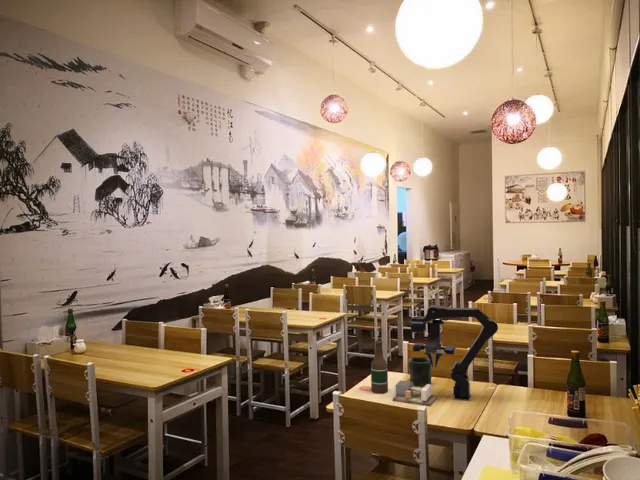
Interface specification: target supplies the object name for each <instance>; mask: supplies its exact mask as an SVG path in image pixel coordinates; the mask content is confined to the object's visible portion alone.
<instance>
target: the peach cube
mask: <svg viewBox="0 0 640 480" xmlns="http://www.w3.org/2000/svg"><path fill="white" fill-rule="evenodd" d="M406 398H407V399H410V398H411V391H409V390H407V391H406Z"/></svg>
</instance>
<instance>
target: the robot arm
mask: <svg viewBox="0 0 640 480" xmlns="http://www.w3.org/2000/svg"><path fill="white" fill-rule="evenodd" d="M444 318H475V319H476V320H477V321H478V323H480V325H481V326H482V327H481V329H480V332H479V333H478V336H477V337H476V338H475V339H474V341H473V342H472V344H471V346H470V347H469V348H468V350H467V352H466V353H465V354H464V356H463V357H462V358H461V360H459V361H458V360H455V361H454V363H453V365H452V366H451V367H450V377H451V380H452V381H453V382H454V386H453V399H456V400H465V401H469V400H470V399H471V397H472V394H471V383H470V377H469V375H467V372H468V369H469V367H470V365H471V364H472V362H473V361H474V359H475V358H476V357H477V355H478V354H479V352H481V349H482V348H483V346H484V345H485V344H486V342H487V341H489V340H490V339H491V338H492V337H493V336H494V335H495V334H496V333H497V332H498V330H499V326H498V322H496V320H495V319H493V318H491V317H490V318H489V317H488V315H487V314H485V313H484V312H483V311H481V309H480V308H479V307H446V306H442V305H436V304H432V305H430V306H429V307H428V308H427V310H426V314H425V315H424V317H411V321H410V323H411V324H410V333H413V334H414V333H418V334H419V333H420V334H422V333H423V334H424V333H425V331H427V336H426V341H425V343H424V342H416V343H414V344H413V345H412V351H413V352H421V350H423V353H424V354H425V355H426V357H427V358H429V360H430V362H431V368H434V367H435V368H437V367H438V365H439V362H440V359H441V357H442V356H443V355H444V354H445V355H455V354H457V347H456V346H455V345H446V346H442V343H441V336H442V335H441V325H444V324H445V321H444V320H443V319H444ZM434 354H435V357H434ZM434 358H435V359H434ZM434 360H435V362H434Z"/></svg>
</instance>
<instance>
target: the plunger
mask: <svg viewBox="0 0 640 480" xmlns="http://www.w3.org/2000/svg"><path fill="white" fill-rule="evenodd" d="M432 385H433V384H432V383H431V384H427V385H426V386H424V387H416V386H415V387H414V386H413V387H410V391H413V392H416V393H421V400H422V401H426V400H427V399H428V398H429V397H430V396H431V395H433V394H432V393H433V391H432V390H433V388H432V387H433V386H432Z"/></svg>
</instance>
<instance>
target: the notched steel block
mask: <svg viewBox="0 0 640 480" xmlns="http://www.w3.org/2000/svg"><path fill="white" fill-rule="evenodd" d="M410 387H414V385H413V382H410V381H406V380H399V381H398V382H397V383H396V384H395V396H400V397H406V391H407V390H409V391H410ZM413 392H414V391H411V394H413Z"/></svg>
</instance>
